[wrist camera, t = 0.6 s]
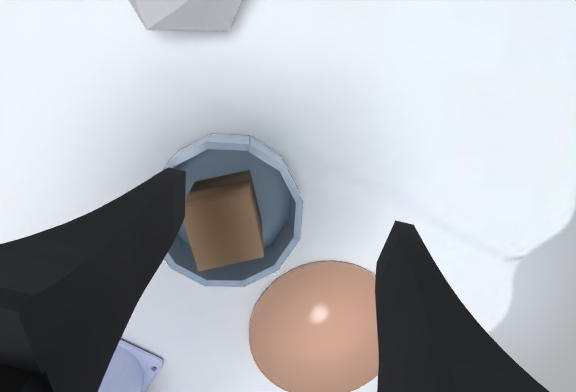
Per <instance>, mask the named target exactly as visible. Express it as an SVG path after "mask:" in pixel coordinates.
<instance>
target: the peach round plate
mask: <svg viewBox="0 0 576 392" xmlns="http://www.w3.org/2000/svg"><path fill="white" fill-rule="evenodd" d="M375 278H376V276H375V275H374V274H372V273H371V272H370V271H368V270H366V269H364V268H362V267H359V266H357V265H354V264H350V263H346V262H339V261H321V262H314V263H310V264H306V265H302V266H300V267H297V268H295V269H293V270H291V271H289V272H287V273H285V274H284V275H282V276H281V277H279V278H278V279H277V280H275V281H274V282H273V283H272V284H271V285H270V286H269V287H268V288H267V289H266V290H265V291H264V293H263V294H262V295H261V297H260V298H259V300H258V302H257V303H256V306H255V308H254V310H253V313H252V317H251V320H250V328H249V340H250V348H251V353H252V355H253V358H254V361H255V362H256V364H257V366H258V368H259V369H260V371H261V372H262V373H263V374H264V375H265V376H266V377H267V378H268V379H269V380H270V381H271V382H272V383H274V384H275V385H276V386H278V387H280V388H281V389H283V390H285V391H288V392H351V391H353V390H356V389H358V388H360V387H361V386H363V385H365V384H367V383H368V382H369V381H371V380H372V379H374V378H375V377H376V376H377V375H378V367H379V351H378V334H377V318H376V302H375Z"/></svg>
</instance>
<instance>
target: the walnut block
mask: <svg viewBox="0 0 576 392" xmlns="http://www.w3.org/2000/svg"><path fill="white" fill-rule="evenodd" d="M183 221H184V224H185V228H186V231H187V235H188V238H189V241H190V245H191V248H192V252H193V255H194V258H195V262H196V265H197V269H198V271H203V270H207V269H212V268H217V267H221V266H226V265H230V264H235V263H239V262H244V261H249V260H253V259H258V258H262V257H264V246H263V231H262V220H261V216H260V211H259V207H258V203H257V198H256V194H255V190H254V185H253V181H252V177H251V173H250V170H247V171H242V172H238V173H233V174H228V175H224V176H219V177H214V178H210V179H205V180H200V181H196V182H194V184H193V186H192V188H191V190H190V192H189V193H188V195H187V197H186V199H185V218H184V220H183Z"/></svg>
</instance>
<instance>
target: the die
mask: <svg viewBox="0 0 576 392" xmlns="http://www.w3.org/2000/svg"><path fill="white" fill-rule="evenodd" d="M129 2H130V3H131V5H132V7H133V8H134V10H135V12H136V13H137V15H138V17H139V18H140V20H141V22H142V23H143V25H144V27H145V28H146V30H178V31H229V30H230V28H231V26H232V23H233V21H234V19H235V16H236V14H237V12H238V9H239V7H240V5H241V2H242V0H129Z"/></svg>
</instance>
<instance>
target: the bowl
mask: <svg viewBox="0 0 576 392" xmlns="http://www.w3.org/2000/svg"><path fill="white" fill-rule="evenodd" d="M168 167H170V168H174V169H179V170H183V171H186V192H185V199H186V197H187V195H188V193H189V192H190V190H191V188H192V186H193V184H194V182H196V181H200V180H205V179H210V178H214V177H219V176H224V175H228V174H233V173H238V172H242V171H247V170H250V173H251V177H252V181H253V185H254V190H255V194H256V198H257V203H258V207H259V211H260V216H261V220H262V231H263V246H264V257H262V258H258V259H253V260H249V261H244V262H239V263H235V264H230V265H226V266H221V267H217V268H212V269H207V270H203V271H198V269H197V265H196V262H195V258H194V255H193V252H192V248H191V245H190V241H189V238H188V235H187V231H186V228H185V224H184V221H183V223H182V225H181V227H180V230H179V232H178V234H177V236H176V239H175V241H174V243H173V244H172V246H171V248H170V249H169V251H168V253H167V254H166V256H165V258H164V259H165V261H166V262H167V264H168V265H169V267H171V268H172V269H174V270H175V271H177V272H179V273H181V274H183V275H185V276H187V277H189V278H191V279H192V280H194V281H196V282H198V283H200V284H202V285H204V286H232V287H244V286H246V285H248V284H251V283H253V282H255V281H257V280H259V279H261V278H263V277H265V276H267V275H269V274H271V273H273V272H275V271H277V270H279V268H280V267H281V265H282V264H283V263H284V261H285V260H286V258H287V257H288V256H289V254H290V253H291V251H292V250H293V248H294V247H295V246H296V244H297V243H298V241H299V240H300V233H301V221H302V208H303V201H302V198H301V196H300V193H299V191H298V188H297V186H296V184H295V182H294V180H293V178H292V176H291V174H290V172H289V170H288V168H287V167H286V165H285V163H284V161H283V159H282V157H281V155H279V154H278V153H276V152H274V151H273V150H271V149H270V148H269V147H267V146H266V145H264V144H262V143H261V142H259V141H257V140H256V139H254V138H253V137H251V136H250V137H249V136H246V135H234V134H210V135H208V136H206V137H204V138H202V139H200V140H198V141H196V142H194V143H192V144H191V145H189V146H187V147H185V148H183V149H181V150H179V151H178V152H177V153H176V154H175V155H174V156H173V157H172V158H171V159H170V160H169V161H168V163H167V164H166V166H165V168H164V169H163V170H165V169H166V168H168Z"/></svg>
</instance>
